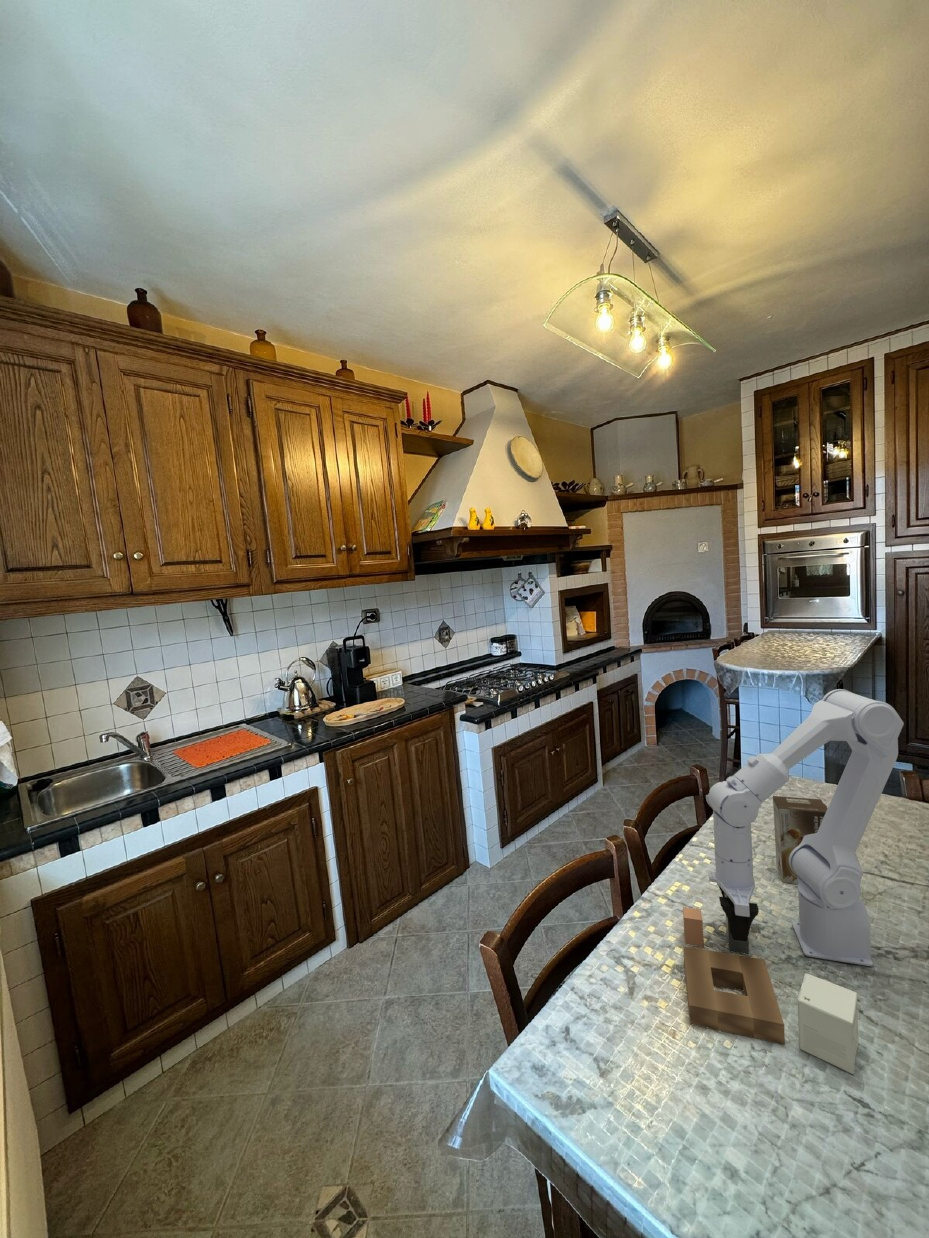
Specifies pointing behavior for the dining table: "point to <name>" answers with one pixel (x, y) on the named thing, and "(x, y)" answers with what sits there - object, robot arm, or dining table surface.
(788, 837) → the coffee box
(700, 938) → the orange brown block
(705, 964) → the hole block
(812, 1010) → the product box
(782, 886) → the dining table surface
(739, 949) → the long metal pin
